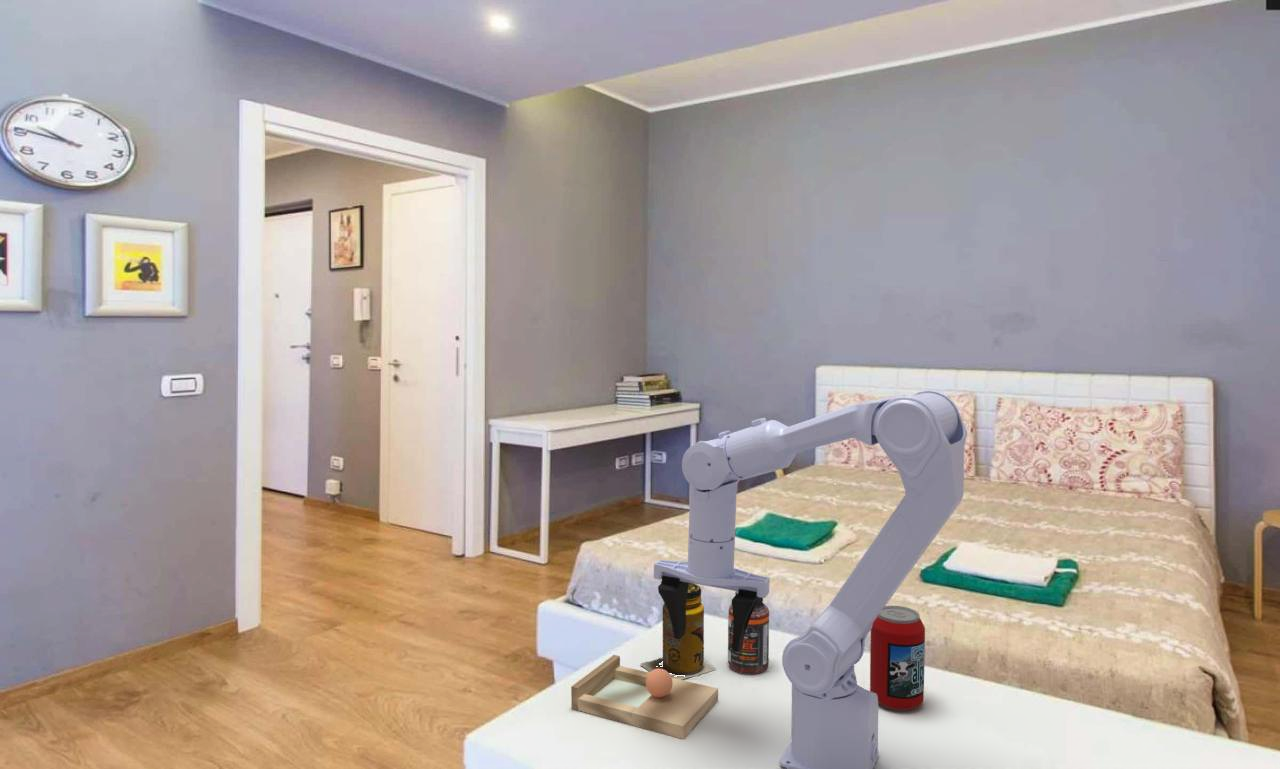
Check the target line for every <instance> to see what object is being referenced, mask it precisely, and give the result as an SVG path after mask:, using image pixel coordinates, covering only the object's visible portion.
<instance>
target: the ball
mask: <svg viewBox="0 0 1280 769" xmlns="http://www.w3.org/2000/svg"><path fill="white" fill-rule="evenodd" d="M671 676H672V675H670V674H669V673H668V672H667V671H666V670H664V669H654V670H652V671H651V672H650V671H649V674H648V676H647V678H646V688H647V690H648V692H649V693H650V694H651V695H652V696H654V697H664V696H666V695H667V694H668V693H669V692H670V691H671V689H672V685H673V682H672V677H671Z"/></svg>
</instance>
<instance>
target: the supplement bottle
mask: <svg viewBox="0 0 1280 769" xmlns="http://www.w3.org/2000/svg"><path fill="white" fill-rule="evenodd" d="M734 592H735V594H734V597H735V596H736V594H738V591H734ZM763 601H764V598H761V597H760V599H759V601H758V603H757V605H756V607H755V609H754V611H753V613H752V615H751V618H750V620H749V623H748V626H747V629H746V632H745V636H744V640H743V646H742V647H741V649H740V650H739V651H738V652H736V651H733V650H732V640H733V628H734V624H733V609H732V603H731V604H730V605H729V608H728V614H727V615H728V616H727V619H728V621H727V624H728V625H727V633H728V634H727V665H728V666H729V667H730V668H731V669H732V670H733V671H735V672H738V673H740V674H745V675H746V674H747V675H756V674H759V673H762V672H765V671H766V670H767V669H768V667H769V658H770V657H769V652H770V649H769V648H770V646H769V643H770V609H769V607H768V606H767V605H766V604H765V603H764V602H763Z"/></svg>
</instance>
